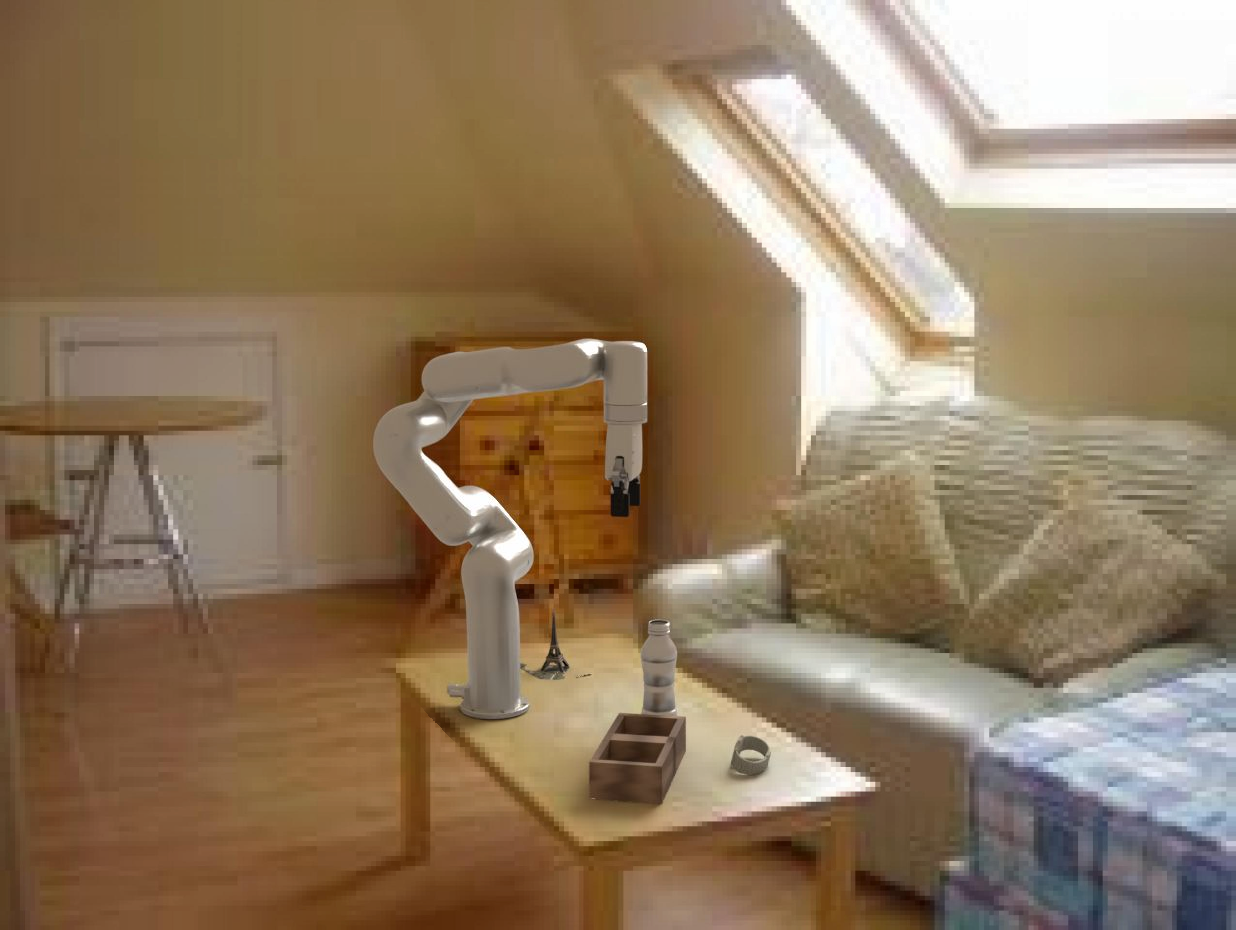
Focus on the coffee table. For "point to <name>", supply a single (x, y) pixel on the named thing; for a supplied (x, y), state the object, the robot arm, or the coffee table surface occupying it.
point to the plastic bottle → (659, 670)
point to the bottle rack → (638, 758)
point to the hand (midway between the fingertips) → (625, 510)
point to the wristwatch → (750, 744)
